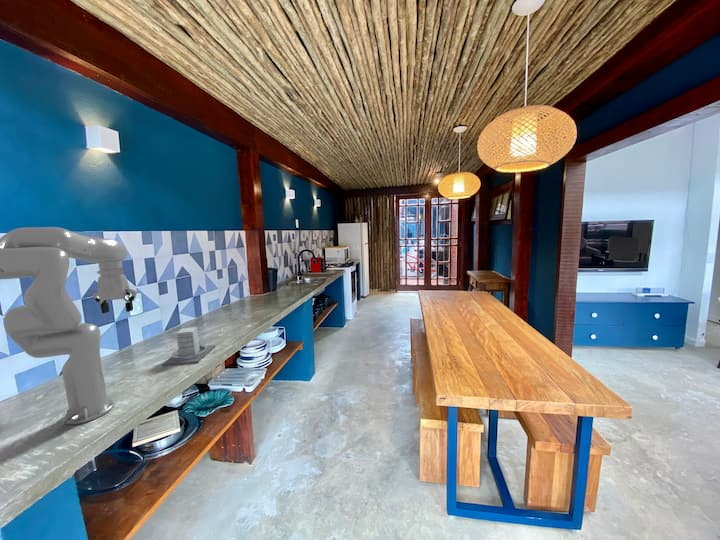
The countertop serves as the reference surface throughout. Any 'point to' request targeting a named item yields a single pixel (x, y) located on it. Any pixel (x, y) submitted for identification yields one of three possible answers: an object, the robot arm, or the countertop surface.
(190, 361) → the slate board
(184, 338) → the supplement box
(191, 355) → the steel ring
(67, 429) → the countertop surface
